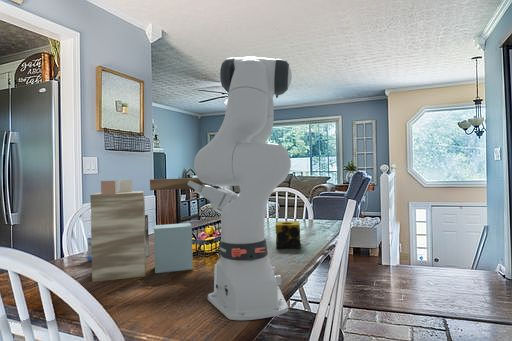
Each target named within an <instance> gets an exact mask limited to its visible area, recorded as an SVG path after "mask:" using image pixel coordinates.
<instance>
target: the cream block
mask: <svg viewBox="0 0 512 341" xmlns="http://www.w3.org/2000/svg"><path fill="white" fill-rule="evenodd" d="M117 182H118V184H117V189H118V190H117V192H132V191H133V179H119V180H117Z"/></svg>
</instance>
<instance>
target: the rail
mask: <svg viewBox="0 0 512 341" xmlns="http://www.w3.org/2000/svg"><path fill="white" fill-rule="evenodd" d="M189 180H191V181H193V182H195V183H197V184H199V185H201V186H202V185H207V186H209V184H207V183H203V182H201V181H200V180H199V178H198V177H187V178H186V177H185V178H181V177H180V178H158V179H157V178H156V179H155V178H153V179H149V190H150V191H167V190H187V189H189V190H190V189H193V188H192V187H190V186H188V185H187V183H188V181H189Z"/></svg>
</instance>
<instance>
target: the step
mask: <svg viewBox="0 0 512 341" xmlns="http://www.w3.org/2000/svg"><path fill="white" fill-rule="evenodd" d="M153 235H154V236H153V238H154V239H153V242H154V243H153V244H154V246H153V247H154V274H160V273H161V274H162V273H169V272H180V271H187V270H189V271H190V270H193V269H194V261H193V258H194V256H193V225H192V224H191V223H190V222H185V223H171V224H170V223H169V224H156V225H153Z"/></svg>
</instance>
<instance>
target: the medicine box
mask: <svg viewBox="0 0 512 341" xmlns="http://www.w3.org/2000/svg"><path fill="white" fill-rule="evenodd" d="M87 261H88V262H92V245H91V236H90V237H87Z"/></svg>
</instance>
